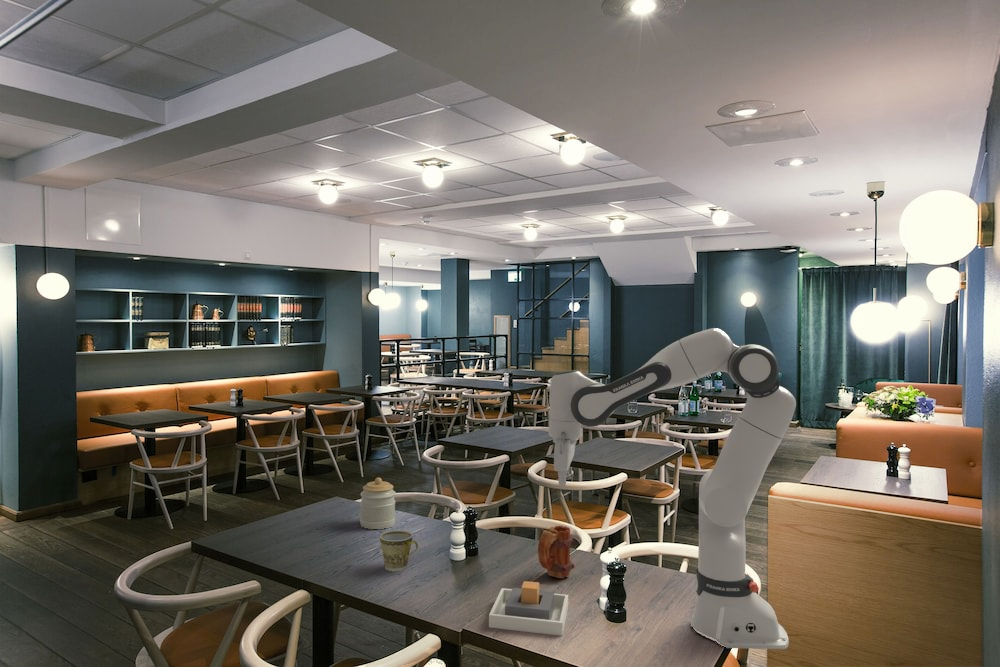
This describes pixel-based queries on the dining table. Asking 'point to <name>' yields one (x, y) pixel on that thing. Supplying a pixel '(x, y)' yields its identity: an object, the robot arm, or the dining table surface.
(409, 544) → the ceramic cup
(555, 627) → the walled box
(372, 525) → the jar
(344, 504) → the dining table surface
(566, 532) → the mug
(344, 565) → the dining table surface
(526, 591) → the plug
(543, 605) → the socket block
